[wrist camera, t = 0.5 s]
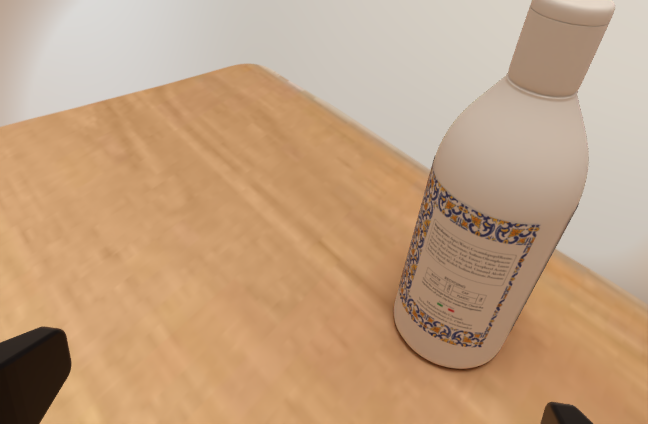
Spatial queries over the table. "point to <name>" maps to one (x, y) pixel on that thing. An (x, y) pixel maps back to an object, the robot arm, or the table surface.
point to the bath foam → (501, 192)
